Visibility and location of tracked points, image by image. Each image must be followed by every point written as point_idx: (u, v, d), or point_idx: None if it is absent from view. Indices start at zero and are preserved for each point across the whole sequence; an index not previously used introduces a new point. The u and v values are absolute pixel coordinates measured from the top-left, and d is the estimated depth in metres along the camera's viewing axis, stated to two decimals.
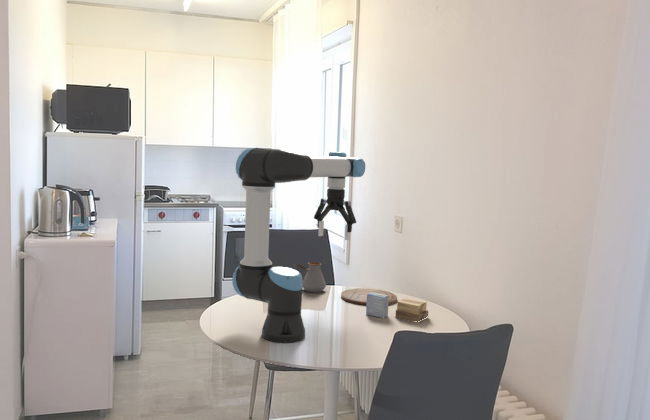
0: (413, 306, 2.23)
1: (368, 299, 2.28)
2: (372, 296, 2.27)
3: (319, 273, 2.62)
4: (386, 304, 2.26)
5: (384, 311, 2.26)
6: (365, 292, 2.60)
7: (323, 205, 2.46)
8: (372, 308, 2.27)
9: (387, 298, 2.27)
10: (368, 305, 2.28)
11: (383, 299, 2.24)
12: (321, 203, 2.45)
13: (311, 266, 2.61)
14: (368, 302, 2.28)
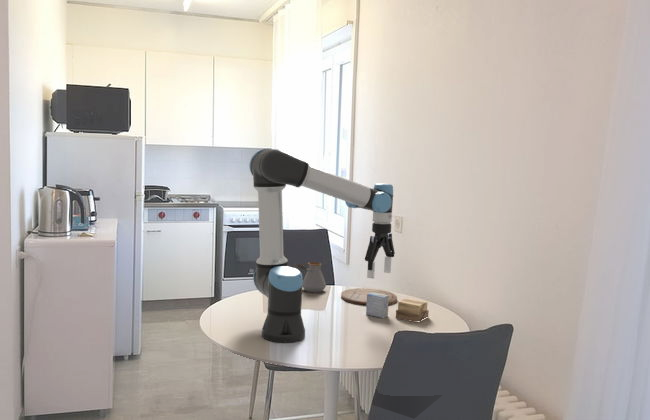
0: (414, 306, 2.23)
1: (368, 299, 2.28)
2: (372, 296, 2.27)
3: (319, 273, 2.62)
4: (386, 304, 2.26)
5: (384, 311, 2.26)
6: (365, 292, 2.60)
7: (388, 240, 2.31)
8: (372, 308, 2.27)
9: (387, 298, 2.27)
10: (368, 305, 2.28)
11: (383, 299, 2.24)
12: None
13: (311, 266, 2.61)
14: (368, 302, 2.28)
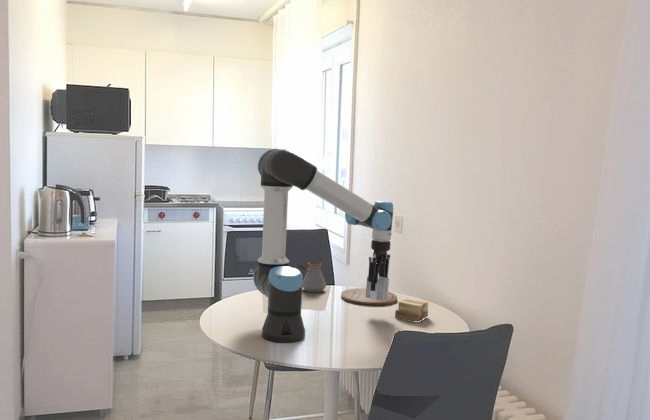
0: (414, 306, 2.23)
1: (368, 282, 2.27)
2: None
3: (319, 273, 2.62)
4: (386, 287, 2.25)
5: (384, 293, 2.25)
6: (365, 292, 2.60)
7: None
8: None
9: (387, 281, 2.26)
10: (368, 288, 2.27)
11: (383, 282, 2.24)
12: None
13: (311, 266, 2.61)
14: (368, 285, 2.27)
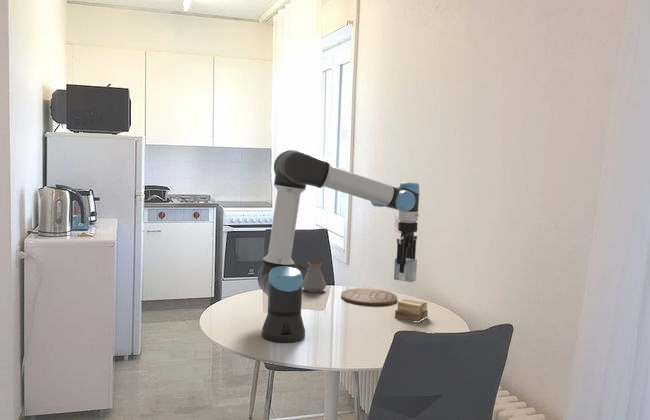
0: (414, 306, 2.23)
1: (396, 264, 2.26)
2: None
3: (319, 273, 2.62)
4: (414, 268, 2.24)
5: (413, 275, 2.23)
6: (365, 292, 2.59)
7: None
8: None
9: (415, 262, 2.25)
10: (396, 270, 2.26)
11: (412, 263, 2.22)
12: None
13: (311, 266, 2.61)
14: (396, 267, 2.26)
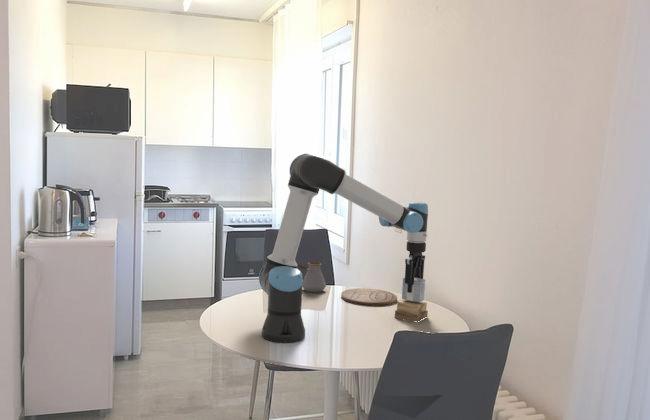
0: (413, 306, 2.23)
1: (404, 283, 2.26)
2: None
3: (319, 273, 2.62)
4: (422, 288, 2.25)
5: (421, 295, 2.24)
6: (365, 292, 2.59)
7: None
8: None
9: (423, 282, 2.25)
10: (404, 289, 2.27)
11: (420, 283, 2.23)
12: None
13: (311, 266, 2.61)
14: (404, 286, 2.26)
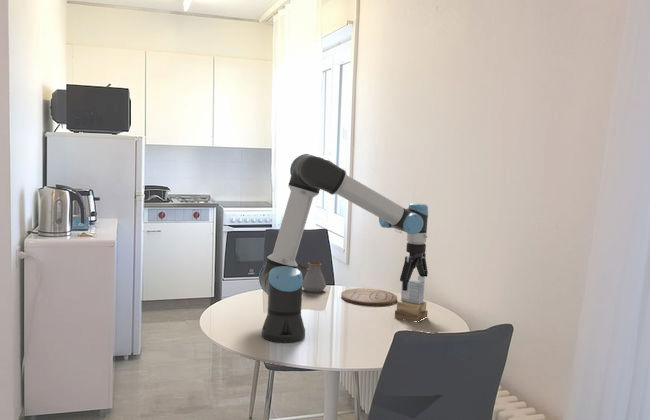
0: (412, 306, 2.23)
1: None
2: None
3: (319, 273, 2.62)
4: (421, 290, 2.25)
5: (420, 297, 2.24)
6: (365, 292, 2.60)
7: (421, 260, 2.31)
8: None
9: (422, 284, 2.25)
10: None
11: (419, 285, 2.23)
12: None
13: (311, 266, 2.61)
14: None
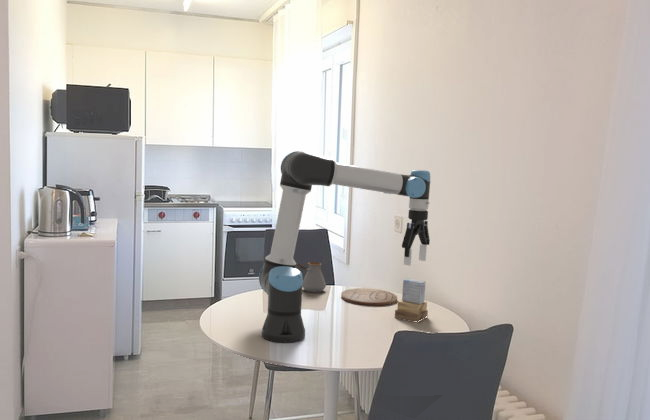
0: (413, 306, 2.23)
1: (404, 285, 2.26)
2: (408, 282, 2.25)
3: (319, 273, 2.62)
4: (423, 290, 2.24)
5: (421, 297, 2.24)
6: (365, 292, 2.59)
7: (423, 228, 2.29)
8: (409, 294, 2.26)
9: (424, 284, 2.25)
10: (404, 291, 2.27)
11: (420, 285, 2.23)
12: None
13: (311, 266, 2.61)
14: (404, 288, 2.26)
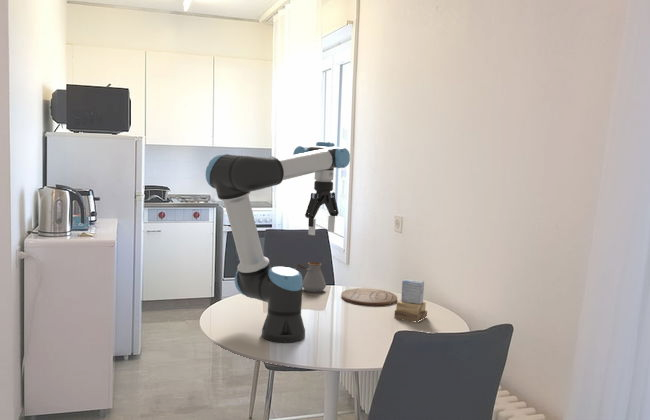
0: (412, 306, 2.23)
1: (404, 286, 2.26)
2: (408, 282, 2.25)
3: (319, 273, 2.62)
4: (422, 290, 2.25)
5: (421, 297, 2.24)
6: (365, 292, 2.59)
7: (331, 199, 2.33)
8: (408, 295, 2.25)
9: (423, 284, 2.25)
10: (404, 292, 2.26)
11: (420, 285, 2.23)
12: None
13: (311, 266, 2.61)
14: (404, 289, 2.26)
